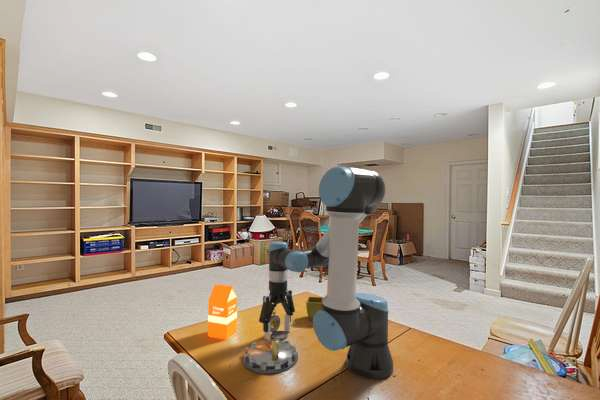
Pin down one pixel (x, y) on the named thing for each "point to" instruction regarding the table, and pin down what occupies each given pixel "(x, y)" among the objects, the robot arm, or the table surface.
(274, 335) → the pocket watch
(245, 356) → the sprocket
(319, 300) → the flower pot
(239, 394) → the table surface
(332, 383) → the table surface
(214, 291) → the orange juice
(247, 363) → the base plate
